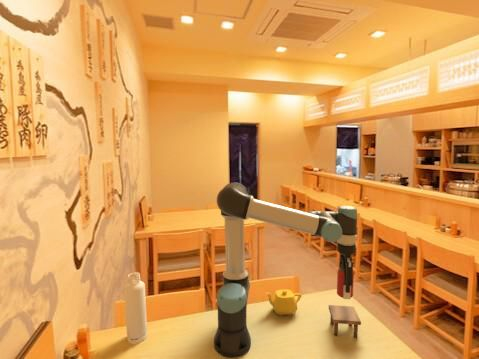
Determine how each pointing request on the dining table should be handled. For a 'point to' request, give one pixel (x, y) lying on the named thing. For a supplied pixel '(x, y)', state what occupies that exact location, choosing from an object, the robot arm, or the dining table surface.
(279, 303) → the teapot
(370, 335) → the dining table surface
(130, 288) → the bottle
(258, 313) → the dining table surface
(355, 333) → the stool
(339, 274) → the beer can
